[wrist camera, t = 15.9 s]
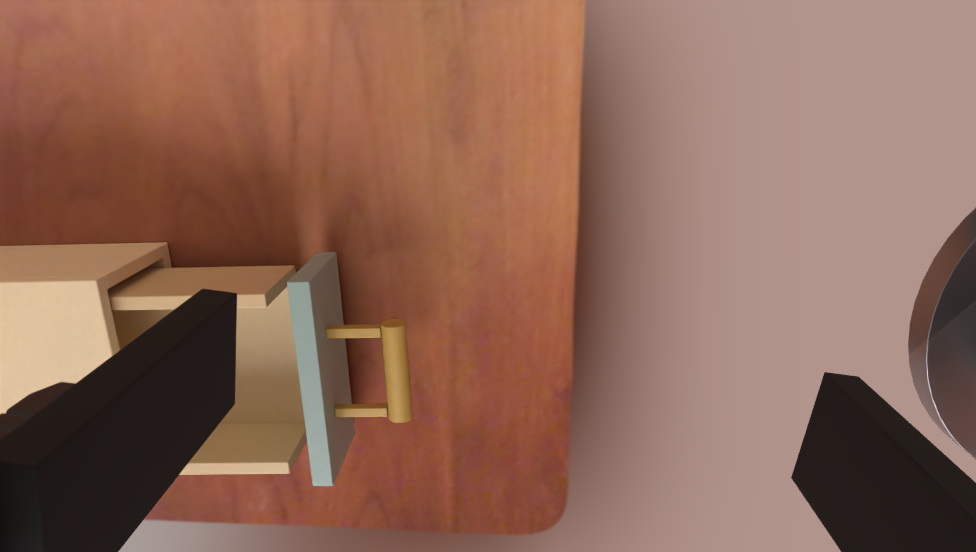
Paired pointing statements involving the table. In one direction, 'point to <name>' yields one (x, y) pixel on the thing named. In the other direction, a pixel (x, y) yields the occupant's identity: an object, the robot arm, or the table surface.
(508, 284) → the table surface
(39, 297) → the cabinet
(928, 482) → the robot arm
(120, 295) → the drawer
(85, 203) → the table surface
